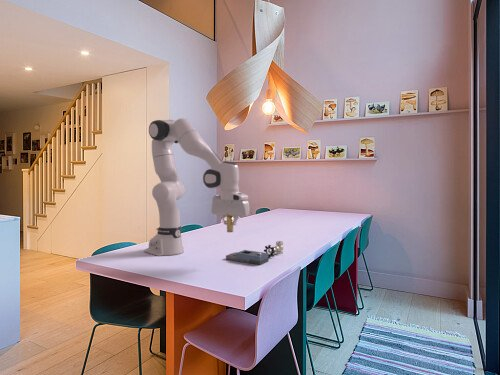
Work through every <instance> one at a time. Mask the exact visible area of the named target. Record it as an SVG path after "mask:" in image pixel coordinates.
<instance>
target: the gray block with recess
mask: <svg viewBox="0 0 500 375" xmlns="http://www.w3.org/2000/svg"><path fill="white" fill-rule="evenodd" d="M268 254H269V252H268V253H266V252H264V251H263V252H261V251H254V250H247V249H244V250H240V251H238V252H233V253H229V254H227V255H225V260H227V261H233V262H239V263H245V264H251V265H257V266H262V265H264V264H266V263H268V262H269V257H268Z"/></svg>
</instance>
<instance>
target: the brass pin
mask: <svg viewBox="0 0 500 375" xmlns="http://www.w3.org/2000/svg"><path fill="white" fill-rule="evenodd" d="M226 219H227V225H226V233H234V225H232V221H234V218H233V216H230V215H229V213H227V217H226Z"/></svg>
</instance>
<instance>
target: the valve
mask: <svg viewBox="0 0 500 375" xmlns="http://www.w3.org/2000/svg"><path fill="white" fill-rule="evenodd" d="M264 248H265V249H263V253H268V259H269V258H271V257H272V258H273V257H275V255H274V254H276V255H277V254H282V255H283V254H284V241H281V240H279V241H275V246H272V244H268V245H266V246H265V245H264Z"/></svg>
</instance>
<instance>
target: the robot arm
mask: <svg viewBox="0 0 500 375" xmlns="http://www.w3.org/2000/svg"><path fill="white" fill-rule="evenodd" d="M148 134H149V137H150V138H151V139H152V140H151V156H152V161H153V166H154V171H155V173H156V175H157V176H158V178H159V180H160V182H159V183H157V184H156V185H154V186H153V188H152V191H151V192H152V197H153V198H154V200H155V202H156V205H157V208H158V215H159V216H158V217H159V227H156V228H155V229H156V231H157V233H156V234H155V235H154V236H153V237H152V238H151V239H149V241H148V248H145V249H144V250H143V251H144V253H148V254H151V255H154V256H157V257H159V256H160V257H162V256H174V255H179V254H182V253H184V252H185V251H184V246H183V239H182V235H181V233H182V226H181V210H179V208H178V204H177V201H178V200H180V199H181V198H183V196H185V193H186V187H185V186H184V183H182V181H181V178H180V176H179V173H178V171H177V169H176V162H175V157H174V151H173V144H179V145H180V147H181V149H182V150H183V151H184V152H185V153H186V154H188V155H190V156H194V157H197V158H199V159H201V160H204V161H205V162H206V163H207V164H208V165H209V167H210V168H208V169H207V170H206V171H204V173H203V176H202V180H203V184H204V185H205V187H207V188H208V189H220V195H219V194H215V195H214V196H213V197H212V202H211V211H210V212H211V213H212V215H218V216H219V215H221V220H222V221H223V225H226V226H227V213H229V215H230V216H233V221H232V225H233V226H237V221H238V219H239V217H243V218H245V217H248V216H250V212H251V211H250V210H251V208H250V202H249V195H247V194H246V193H242V192H241V191H240V187H239V182H240V170H239V165H238V164H237V163H236V162H233V161H228V160H227V161H222V160H221V159H220V157H219V156H218V155H217V154H216V153H215V151H214V150H213V149H212V148H211V147H210V146H209V145H208V143H207V142H206V141H205V140H204V139H203V137H202V136H201V134H200V133H199V132H198V130H197V129H196V128H195V126H194V125H193V123H191V122H190V121H189V120H187V119H186V118H178V119H177V120H173V119H163V120H162V119H158V120H157V119H155V120H153V121H151V122H150V123H149V126H148Z"/></svg>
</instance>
